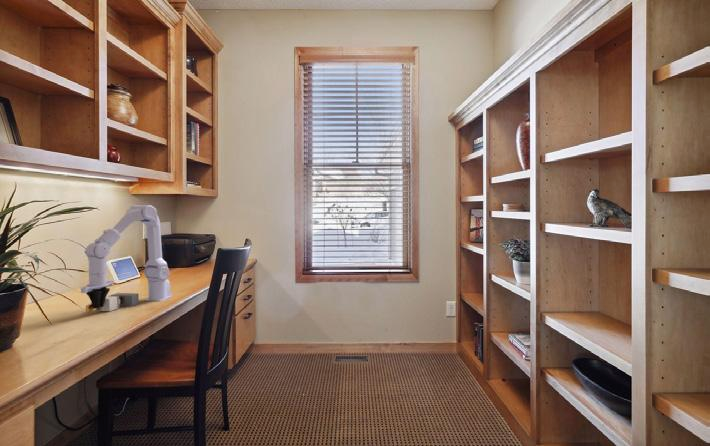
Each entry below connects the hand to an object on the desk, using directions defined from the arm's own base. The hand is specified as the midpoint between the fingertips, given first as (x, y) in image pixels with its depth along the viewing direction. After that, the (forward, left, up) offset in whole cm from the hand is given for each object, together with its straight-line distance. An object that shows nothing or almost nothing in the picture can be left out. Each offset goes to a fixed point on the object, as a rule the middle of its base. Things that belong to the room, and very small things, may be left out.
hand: (98, 307), depth 156 cm
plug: (-6, +1, -2) cm, 7 cm away
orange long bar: (-1, -3, -1) cm, 3 cm away
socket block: (-11, 0, -2) cm, 11 cm away
